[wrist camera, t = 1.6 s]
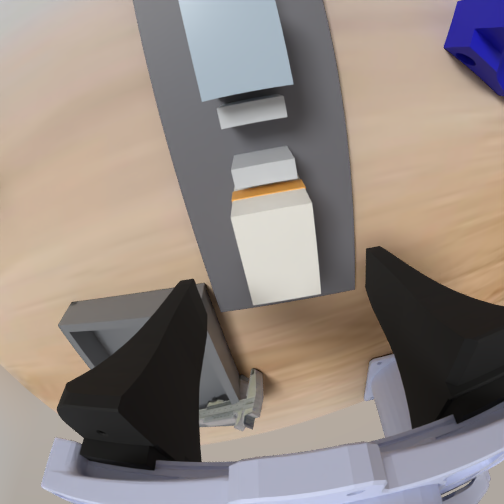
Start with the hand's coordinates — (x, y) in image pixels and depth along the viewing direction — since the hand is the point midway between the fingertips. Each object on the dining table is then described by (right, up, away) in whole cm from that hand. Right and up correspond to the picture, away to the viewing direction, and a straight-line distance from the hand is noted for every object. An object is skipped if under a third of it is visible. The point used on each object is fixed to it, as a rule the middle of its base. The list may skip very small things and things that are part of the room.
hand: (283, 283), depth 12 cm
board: (-1, +9, +4) cm, 10 cm away
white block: (0, +4, +6) cm, 7 cm away
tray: (-9, -9, +14) cm, 19 cm away
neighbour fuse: (-2, +12, +1) cm, 12 cm away
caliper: (-8, -16, +19) cm, 26 cm away
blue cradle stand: (+17, +15, +1) cm, 23 cm away
